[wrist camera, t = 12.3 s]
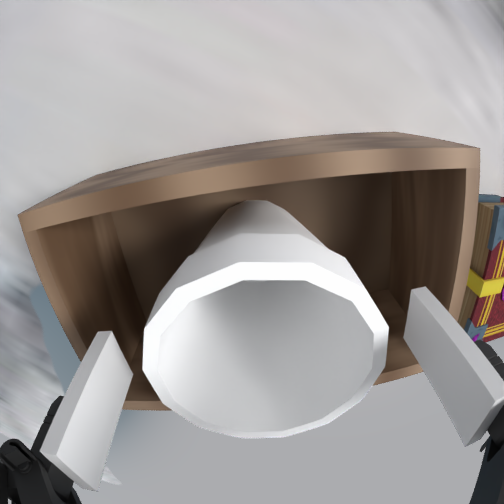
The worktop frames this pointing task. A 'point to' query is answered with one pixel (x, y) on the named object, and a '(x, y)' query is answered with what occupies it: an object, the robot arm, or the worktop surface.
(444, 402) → the robot arm
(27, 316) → the worktop surface
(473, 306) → the decorative book
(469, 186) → the open wooden box
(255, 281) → the foam cup
